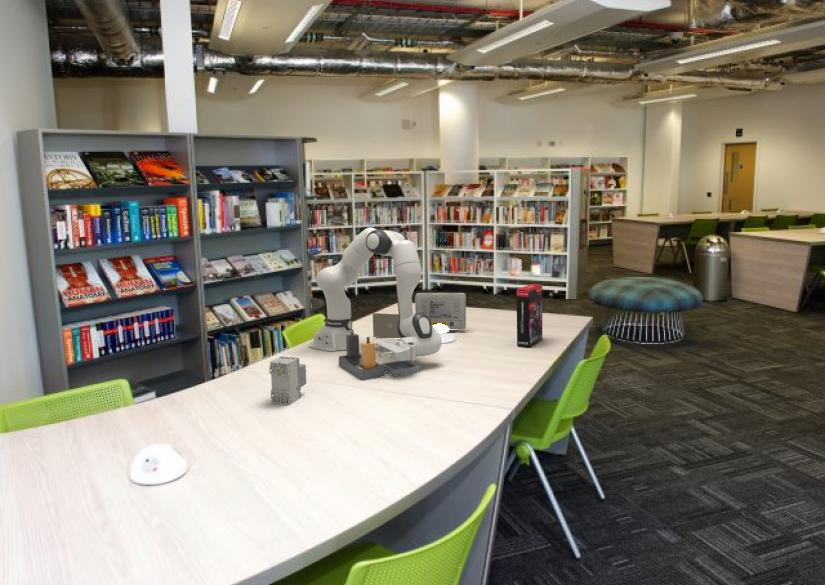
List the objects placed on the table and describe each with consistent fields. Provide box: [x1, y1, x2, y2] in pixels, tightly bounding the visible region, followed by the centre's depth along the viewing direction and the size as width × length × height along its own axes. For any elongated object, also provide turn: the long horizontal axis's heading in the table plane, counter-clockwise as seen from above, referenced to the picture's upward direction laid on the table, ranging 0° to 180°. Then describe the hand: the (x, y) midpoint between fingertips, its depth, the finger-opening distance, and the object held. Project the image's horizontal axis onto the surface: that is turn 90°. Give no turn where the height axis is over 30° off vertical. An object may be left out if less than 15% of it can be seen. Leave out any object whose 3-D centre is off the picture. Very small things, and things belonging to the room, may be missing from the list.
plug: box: [361, 336, 377, 369], centre depth 259 cm, size 3×4×14 cm
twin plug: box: [346, 328, 360, 359], centre depth 273 cm, size 3×4×14 cm
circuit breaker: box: [268, 355, 307, 406], centre depth 235 cm, size 8×14×15 cm, turn 161°
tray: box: [380, 360, 421, 377], centre depth 267 cm, size 12×12×2 cm
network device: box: [414, 292, 467, 333], centre depth 330 cm, size 26×9×20 cm, turn 84°
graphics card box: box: [516, 283, 543, 348], centre depth 304 cm, size 17×7×27 cm, turn 148°
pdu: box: [338, 352, 386, 381], centre depth 267 cm, size 24×10×4 cm, turn 29°
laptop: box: [372, 312, 401, 339], centre depth 324 cm, size 18×12×13 cm
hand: (375, 352), depth 260 cm, fingers open, 8 cm apart
